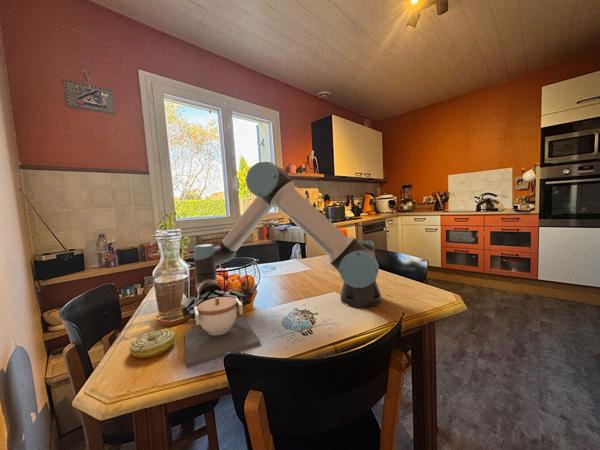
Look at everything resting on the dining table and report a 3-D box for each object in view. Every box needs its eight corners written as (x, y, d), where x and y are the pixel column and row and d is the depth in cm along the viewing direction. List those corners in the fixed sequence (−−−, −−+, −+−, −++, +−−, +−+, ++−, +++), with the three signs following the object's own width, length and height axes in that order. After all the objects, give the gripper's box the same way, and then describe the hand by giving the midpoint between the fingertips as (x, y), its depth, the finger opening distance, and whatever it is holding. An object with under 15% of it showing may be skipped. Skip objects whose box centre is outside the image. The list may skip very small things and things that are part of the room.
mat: (243, 319, 81) (243, 316, 81) (260, 344, 65) (260, 340, 65) (184, 334, 73) (184, 331, 73) (187, 367, 57) (186, 363, 57)
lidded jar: (227, 341, 63) (224, 305, 62) (190, 338, 65) (187, 304, 64) (244, 322, 73) (242, 291, 73) (212, 320, 75) (210, 291, 75)
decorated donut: (168, 335, 73) (167, 323, 73) (180, 348, 66) (179, 334, 66) (127, 350, 66) (126, 336, 66) (135, 366, 58) (134, 351, 58)
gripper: (243, 295, 90) (262, 317, 70) (173, 310, 79) (173, 340, 60) (242, 276, 90) (260, 292, 70) (171, 287, 79) (170, 310, 59)
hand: (220, 314), depth 65 cm, fingers closed on lidded jar, 11 cm apart
